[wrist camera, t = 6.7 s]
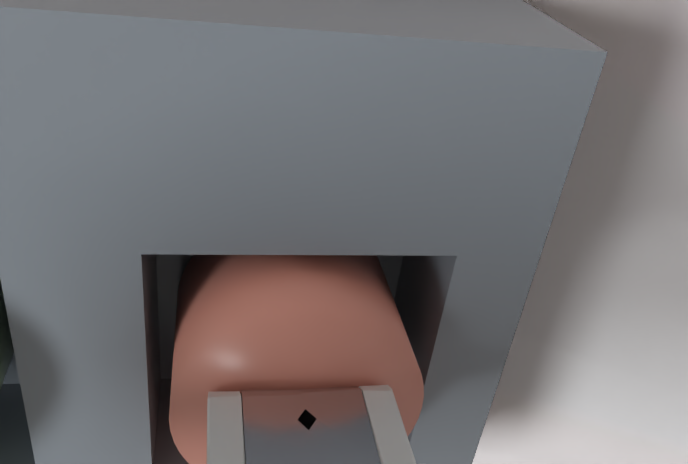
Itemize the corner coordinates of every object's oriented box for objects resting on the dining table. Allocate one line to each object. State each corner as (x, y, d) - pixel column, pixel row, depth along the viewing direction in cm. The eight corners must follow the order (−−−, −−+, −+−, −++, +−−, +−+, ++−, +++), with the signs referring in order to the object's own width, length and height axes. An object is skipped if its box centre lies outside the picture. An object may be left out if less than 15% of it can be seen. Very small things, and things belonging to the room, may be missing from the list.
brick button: (400, 212, 13) (446, 311, 10) (370, 373, 15) (402, 486, 12) (175, 209, 12) (165, 315, 9) (178, 380, 14) (170, 503, 12)
